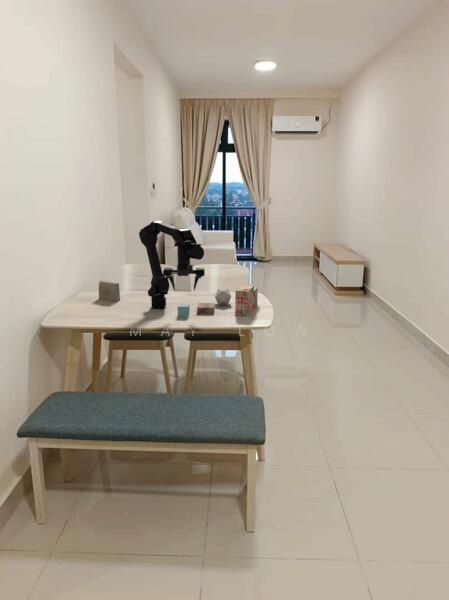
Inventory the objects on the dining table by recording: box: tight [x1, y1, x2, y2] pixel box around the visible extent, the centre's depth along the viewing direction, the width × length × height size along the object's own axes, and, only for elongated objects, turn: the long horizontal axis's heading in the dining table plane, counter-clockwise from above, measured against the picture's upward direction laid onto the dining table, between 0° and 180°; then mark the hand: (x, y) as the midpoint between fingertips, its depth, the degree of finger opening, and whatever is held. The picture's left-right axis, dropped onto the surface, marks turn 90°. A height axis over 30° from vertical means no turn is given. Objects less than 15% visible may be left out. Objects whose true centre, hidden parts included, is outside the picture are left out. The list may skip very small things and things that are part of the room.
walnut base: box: [196, 302, 215, 315], centre depth 215 cm, size 8×8×3 cm
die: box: [214, 288, 232, 306], centre depth 227 cm, size 8×9×10 cm
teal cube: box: [177, 303, 191, 318], centre depth 208 cm, size 5×5×5 cm
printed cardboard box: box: [234, 284, 259, 317], centre depth 217 cm, size 21×6×12 cm, turn 164°
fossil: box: [98, 280, 121, 303], centre depth 233 cm, size 12×4×10 cm, turn 62°
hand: (184, 290), depth 206 cm, fingers open, 9 cm apart
